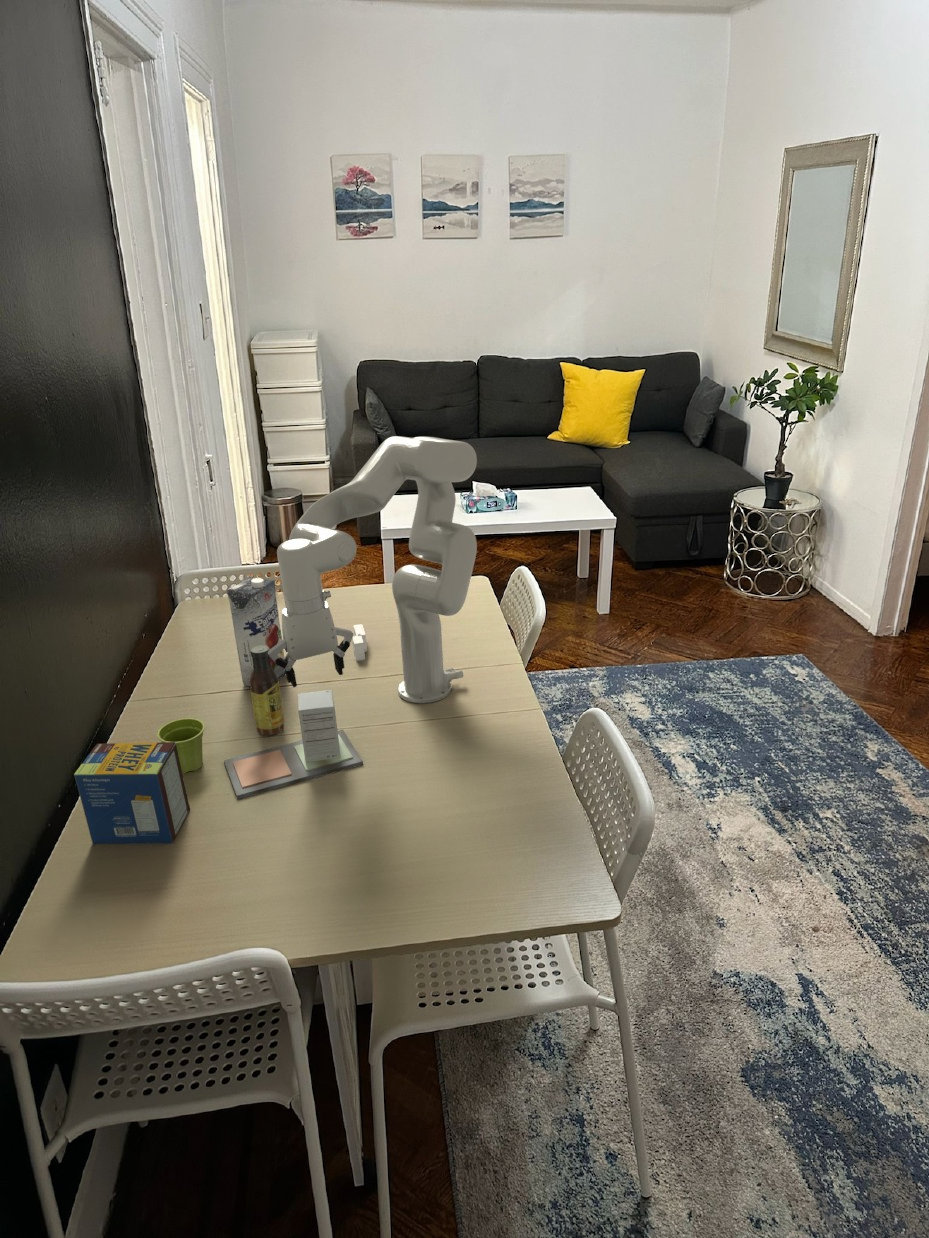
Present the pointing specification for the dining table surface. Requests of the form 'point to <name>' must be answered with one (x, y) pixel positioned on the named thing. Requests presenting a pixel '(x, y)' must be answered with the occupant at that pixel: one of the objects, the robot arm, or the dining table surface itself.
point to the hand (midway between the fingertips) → (316, 678)
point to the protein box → (133, 793)
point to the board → (285, 766)
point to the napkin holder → (359, 642)
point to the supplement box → (318, 725)
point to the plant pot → (185, 741)
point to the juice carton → (255, 622)
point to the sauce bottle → (265, 693)
